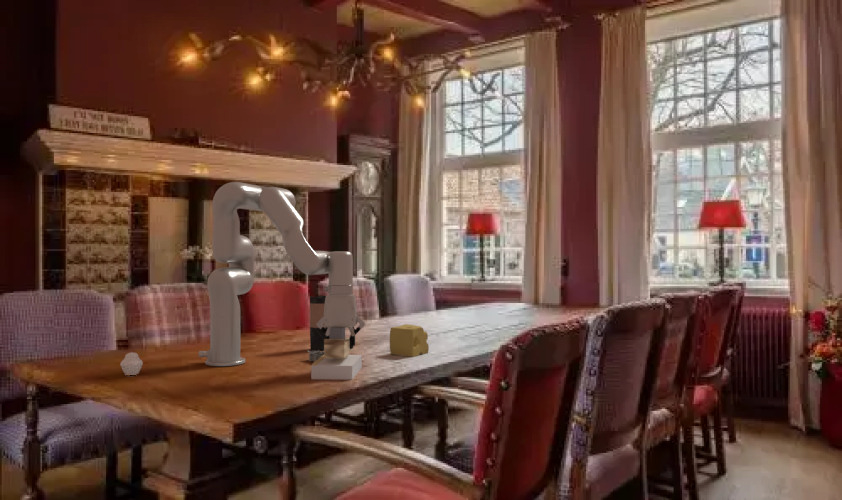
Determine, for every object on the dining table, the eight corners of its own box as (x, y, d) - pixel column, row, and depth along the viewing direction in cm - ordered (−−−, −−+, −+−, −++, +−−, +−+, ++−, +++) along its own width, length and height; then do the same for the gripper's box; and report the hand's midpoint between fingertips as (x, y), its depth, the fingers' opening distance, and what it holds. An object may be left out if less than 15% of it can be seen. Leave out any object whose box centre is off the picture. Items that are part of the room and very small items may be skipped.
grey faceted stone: (145, 372, 197) (145, 350, 197) (139, 376, 191) (139, 353, 191) (123, 373, 196) (123, 350, 196) (117, 377, 190) (117, 353, 190)
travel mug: (328, 351, 239) (328, 297, 239) (308, 351, 239) (308, 297, 239) (331, 347, 247) (331, 295, 247) (311, 347, 247) (311, 295, 247)
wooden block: (324, 358, 191) (324, 339, 191) (333, 350, 206) (333, 332, 206) (344, 358, 191) (344, 339, 191) (352, 350, 206) (352, 332, 206)
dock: (311, 379, 188) (311, 364, 188) (324, 367, 207) (324, 354, 207) (352, 379, 187) (352, 365, 187) (361, 367, 206) (361, 354, 206)
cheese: (428, 353, 235) (428, 325, 235) (412, 357, 226) (412, 329, 226) (405, 350, 240) (405, 324, 240) (388, 354, 231) (388, 327, 231)
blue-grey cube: (329, 342, 196) (329, 329, 196) (332, 340, 200) (332, 327, 200) (342, 342, 195) (342, 329, 195) (345, 340, 199) (345, 327, 199)
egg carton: (340, 363, 216) (340, 351, 216) (320, 365, 212) (320, 353, 212) (325, 358, 225) (325, 346, 225) (305, 360, 220) (306, 348, 220)
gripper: (310, 291, 199) (311, 350, 199) (366, 291, 198) (366, 350, 198) (316, 290, 206) (316, 346, 206) (369, 289, 205) (370, 346, 205)
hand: (341, 347), depth 202 cm, fingers closed on wooden block, 6 cm apart
